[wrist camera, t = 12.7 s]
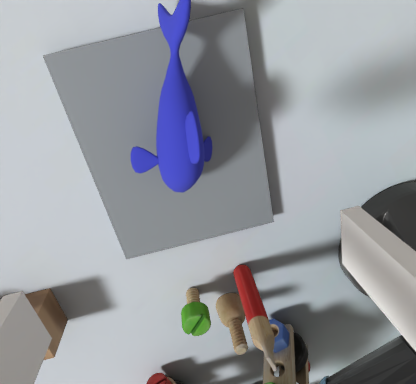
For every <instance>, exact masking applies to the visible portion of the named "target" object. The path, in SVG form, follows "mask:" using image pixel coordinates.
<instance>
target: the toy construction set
mask: <svg viewBox="0 0 416 384" xmlns="http://www.w3.org/2000/svg"><path fill="white" fill-rule="evenodd" d="M233 274H234V278H235V281H236V285H237V288H238V292H239V294H237V293H226V294H224V295H222V296H221V297H220V298H219V299H218V300H217V302H216V309H217V313H218V315H219V318H220V320H221V322H222V323H223V324H224V325H225V326H226V327H229V330H230V333H231V337H232V342H233V346H234V350H235V352H236V353H237V354H238V355H242V354H244V353H246V351H247V349H248V346H247V342H246V339H245V335H244V331H243V327H242V323H243V322H244V320H245V316H246V320H247V323H248V327H249V330H250V333H251V337H252V340H253V343H254V345H255V346H256V347H257V348H259V349H260V350H262V351H263V352H264V365H263V384H296V382H298V383H299V384H309V371H310V363H309V361H308V347H307V345H306V344H305V342H304V341H303V339H302V338H301V337H300V336H299V335H298V334H297V333H295V332H293V328H292V326H291V325H290V324H287V325H284V324H283V323H281V322H279V321H278V320H276V319H274V318H273V319H271V320H268V317H267V314H266V311H265V308H264V306H263V303H262V300H261V298H260V295H259V292H258V290H257V287H256V284H255V282H254V279H253V276H252V273H251V270H250V269H249V267H248V266H246V265H238V266H237V267H236V268H235V269H234V272H233ZM186 296H187V305H185V306H184V307H183V309H182V312H181V316H182V328H183V330H184V332H185V333H187V334H190V333H192V335H193V336H199V335H202V334H204V333H206V332H207V331H208V330H209V328H210V325H211V321H210V316H209V310H208V307H207V306H206V305H205V304H203V303H201V302H200V298H199V291H198V289H196V288H190V289H188V290H187V292H186ZM278 366H279V377H275V376H274V371H277V368H276V367H278ZM147 384H183V383H181V382H180V381H174V380H173V379H172V378H170V377H166V376H165V375H164V374H163V373H156V374H154V375H152V376H151V377H150V378H149V380H148V381H147Z"/></svg>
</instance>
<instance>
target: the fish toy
mask: <svg viewBox="0 0 416 384" xmlns="http://www.w3.org/2000/svg"><path fill="white" fill-rule="evenodd" d="M190 8H191V0H179V3H178V5H177V7H176V9H175V11H174V13H173V15H170V14H169V12H168V11H167V10H166V9H165V8H164V6H163V5H162V4H160V3H159V4H158V16H159V23H160V27H161V30H162V32H163V35H164V37H165V39H166V40H167V42H168V44H169V47H170V53H171V55H170V61H169V65H168V68H167V72H166V77H165V80H164V83H163V86H162V90H161V95H160V100H159V109H158V119H157V133H156V151H157V156H156V155H154V154H152V153H151V152H149V151H147V150H146V149H144V148H141V147H138V146H136V147H133V148H132V150H131V164H132V168H133V169H134V171H135V172H136V173H140V174H141V173H144V172H147V171H148V170H150V169H152V168H153V167H155V166H156V165H158V166H159V170H160V173H161V177H162V179H163V181H164V183H165V184H166V185H167V186H168V187H169V188H170V189H172V190H173V191H174V192H182V193H183V192H185V191H187V190H189V189H190V188H191V187H192V186H193V185H194V184H195V183H196V182H197V180H198V179H199V177H200V176H201V174H202V171H203V167H204V161H205V162H209V161H210V160H211V156H212V140H211V137H209V136H208V137H207V138H206V139H205V140H204V142H203V135H202V130H201V125H200V120H199V115H198V111H197V107H196V103H195V99H194V95H193V93H192V90H191V87H190V85H189V83H188V81H187V79H186V76H185V73H184V70H183V67H182V64H181V60H180V56H179V48H180V45H181V42H182V40H183V38H184V36H185V33H186V30H187V26H188V23H189V18H190Z"/></svg>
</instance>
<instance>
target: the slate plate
mask: <svg viewBox="0 0 416 384" xmlns="http://www.w3.org/2000/svg"><path fill="white" fill-rule="evenodd" d="M170 55H171V53H170V47H169V44H168V42H167V40H166V39H165V37H164V35H163V32H162V30H161V28H157V29H153V30H148V31H144V32H140V33H136V34H132V35H127V36H123V37H119V38H115V39H111V40H106V41H102V42H98V43H94V44H89V45H85V46H81V47H77V48H73V49H68V50H64V51H60V52H56V53H51V54H47V55H43V58H44V60H45V63H46V65H47V67H48V70H49V72H50V75H51V77H52V80H53V82H54V84H55V87H56V89H57V92H58V94H59V97H60V99H61V101H62V104H63V106H64V109H65V111H66V114H67V116H68V118H69V121H70V123H71V126H72V128H73V131H74V133H75V136H76V138H77V140H78V143H79V145H80V148H81V150H82V153H83V155H84V157H85V160H86V162H87V165H88V167H89V170H90V172H91V174H92V177H93V179H94V182H95V184H96V187H97V189H98V191H99V194H100V196H101V199H102V201H103V204H104V206H105V208H106V211H107V213H108V216H109V218H110V221H111V223H112V226H113V228H114V230H115V233H116V235H117V238H118V240H119V243H120V245H121V247H122V250H123V252H124V255H125V257H126V259H130V258H134V257H138V256H142V255H146V254H150V253H154V252H158V251H161V250H165V249H169V248H173V247H177V246H181V245H185V244H189V243H193V242H197V241H201V240H205V239H209V238H213V237H216V236H220V235H224V234H228V233H232V232H236V231H240V230H244V229H248V228H252V227H256V226H260V225H264V224H268V223H272V222H274V220H273V213H272V206H271V199H270V192H269V185H268V178H267V171H266V164H265V157H264V150H263V143H262V136H261V129H260V122H259V115H258V108H257V101H256V94H255V87H254V80H253V72H252V65H251V58H250V51H249V44H248V37H247V30H246V23H245V16H244V9H243V8H241V9H237V10H233V11H229V12H224V13H220V14H216V15H212V16H208V17H203V18H199V19H195V20H191V21H189V23H188V26H187V30H186V33H185V36H184V38H183V40H182V42H181V45H180V48H179V56H180V60H181V64H182V67H183V70H184V73H185V76H186V79H187V81H188V83H189V85H190V87H191V90H192V93H193V95H194V99H195V103H196V107H197V111H198V115H199V120H200V125H201V130H202V135H203V142H204V140H205V139H206V138H207V137H208V136H209V137H211V140H212V156H211V160H210V161H209V162H205V161H204V167H203V171H202V174H201V176H200V177H199V179H198V180H197V182H196V183H195V184H194V185H193V186H192V187H191V188H190V189H189V190H187V191H185V192H183V193H182V192H174V191H173V190H172V189H170V188H169V187H168V186H167V185H166V184H165V183H164V181H163V179H162V177H161V173H160V170H159V166H158V165H156V166H155V167H153V168H152V169H150V170H148V171H147V172H144V173H141V174H140V173H136V172H135V171H134V169H133V168H132V164H131V150H132V148H133V147H136V146H138V147H141V148H144V149H146V150H147V151H149V152H151V153H152V154H154V155H156V156H157V151H156V133H157V119H158V109H159V100H160V95H161V90H162V86H163V83H164V80H165V77H166V72H167V68H168V65H169V61H170Z"/></svg>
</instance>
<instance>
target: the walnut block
mask: <svg viewBox="0 0 416 384" xmlns="http://www.w3.org/2000/svg"><path fill="white" fill-rule="evenodd" d="M25 296H26V298H27V299H28V301H29V302H30V304H31V305H32V307H33V309H34V310H35V312H36V313H37V315H38V317H39V318H40V320H41V321H42V323H43V325H44V326H45V328H46V329H47V331H48V333H49V334H50V336H51V337H52V340H51V342H50V345H49V347H48V350H47V352H46V355H45V357H44V360H46V359H50V358H54V357H55V354H56V351H57V349H58V346H59V343H60V340H61V337H62V335H63V332H64V329H65V326H66V324H67V321H68V320H67V318H66V316H65V314H64V312H63V311H62V309H61V307H60V305H59V303H58V302H57V300H56V298H55V296H54V295H53V293H52V291H51V289H50V288H49V289H45V290H41V291H37V292H33V293H29V294H25Z"/></svg>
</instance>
